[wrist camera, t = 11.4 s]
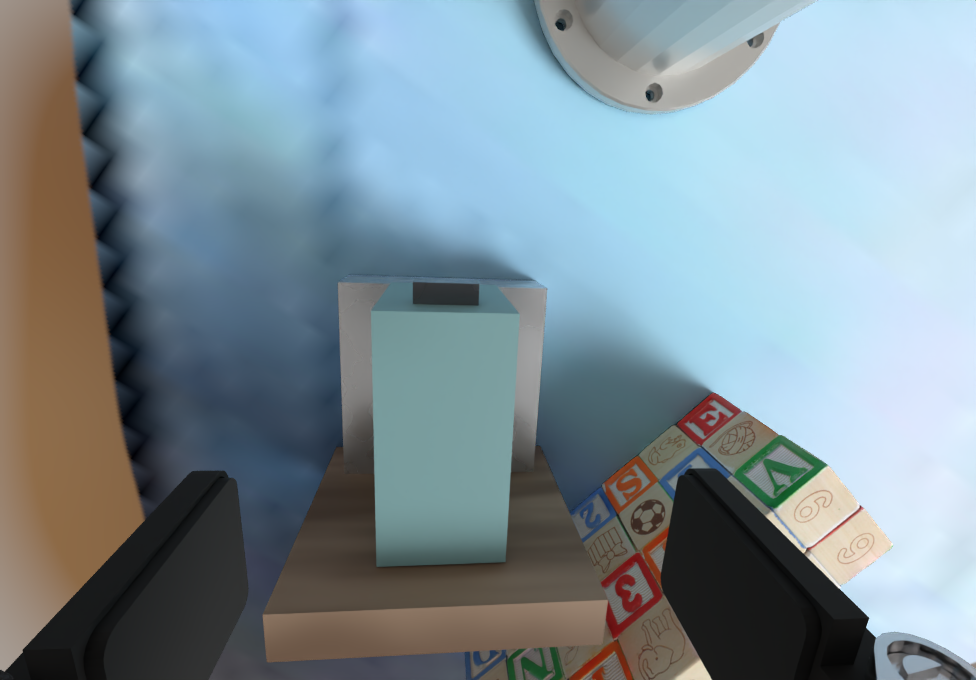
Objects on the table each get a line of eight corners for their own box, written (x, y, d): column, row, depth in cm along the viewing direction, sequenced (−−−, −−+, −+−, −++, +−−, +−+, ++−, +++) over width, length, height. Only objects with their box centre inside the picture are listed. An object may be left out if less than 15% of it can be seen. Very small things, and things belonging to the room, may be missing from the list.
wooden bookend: (329, 274, 25) (236, 324, 13) (553, 281, 26) (642, 332, 15) (337, 477, 28) (266, 662, 16) (537, 475, 29) (602, 644, 18)
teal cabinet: (390, 265, 22) (370, 286, 16) (496, 268, 23) (521, 290, 16) (393, 472, 25) (376, 566, 18) (487, 470, 26) (505, 562, 19)
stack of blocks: (711, 386, 29) (898, 503, 17) (765, 451, 31) (970, 599, 19) (459, 602, 31) (471, 838, 19) (521, 653, 33) (568, 899, 21)
